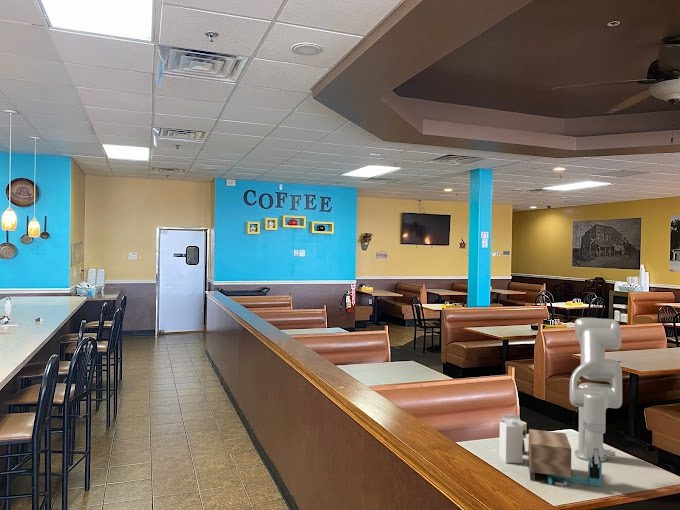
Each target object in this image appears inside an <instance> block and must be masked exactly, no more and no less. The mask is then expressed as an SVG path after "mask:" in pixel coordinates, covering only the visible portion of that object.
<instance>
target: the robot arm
mask: <svg viewBox="0 0 680 510" xmlns="http://www.w3.org/2000/svg"><path fill="white" fill-rule="evenodd" d="M574 331H575V335H576V337H577V341H578V343H579V346H580V365H579V366H577V367H576V368H575V369H574V370H573V371H572V373H571V376H570V379H569V402H570V404H571V405H572V406H574V407H576V408H577V407H578V448H577V449H575V450H574V456H575V457H577V458H579V459H582V460H584V461H588V465H587V466H588V467H587V469H588V470H587V471H588V472H587V473H589V459H591V466H590V478H595V479H599V460H602V462H605V461H607V460H608V456H610V457H616V451H614V450H613V451H612V450H611V449H605V448H604V434H605V433H606V425H607V424H606V419H607V418H606V412H607V409H608V408H609V409H610V408H611V409H619V408H621V406H622V404H623V370H622V365H621V363H620V362H619V361H618V360H615V359H611V358H610V359H609V358H606V354H605V352H606V351H605V350H613V351H614V350H615V351H616V350H619V349H620V348H621V346H622V331H621V327H620V323H619V322H618V320H616V319H612V318H597V317H581V318H577V319H575V321H574ZM581 377H583V379H586V380H590V381H598V382H599V381H600V382H607V383H609V384H603V383H595V382H582V383H579V385H578V381H579V379H580V378H581ZM592 457H594V458H592Z"/></svg>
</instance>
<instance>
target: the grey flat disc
mask: <svg viewBox="0 0 680 510" xmlns="http://www.w3.org/2000/svg"><path fill="white" fill-rule="evenodd" d="M569 483H570V482H569V481H567V480H566V479H563V478H552V485H555V486H557V487H561V486H563V488H564V487H565V486H566V487H569Z"/></svg>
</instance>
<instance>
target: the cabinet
mask: <svg viewBox="0 0 680 510" xmlns="http://www.w3.org/2000/svg"><path fill="white" fill-rule="evenodd" d="M528 473H529V479H530V481H533V482H535V480H536V479H535V478H536V476H535V475H536V474H535V473H537V474H544V475H547V474H549V475H557V476H564V477H571V476H572V445H571V444H570V441H569V438H568V436H567V434H566V433H565V432H559V431H558V432H557V431H548V430H541V429H540V430H539V429H532V428H529V429H528Z"/></svg>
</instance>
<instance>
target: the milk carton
mask: <svg viewBox="0 0 680 510" xmlns="http://www.w3.org/2000/svg"><path fill="white" fill-rule="evenodd" d="M520 416H521V415H520V414H511V413H510V414H507V413H506V414H502V418H500V419H501V420H500V421H499V439H498V443H499V445H498V446H499V447H498V453H499V454H498V455H499V456H498V457H499V458H500V459H501V460H502V461H503V462H504V463H505V464H523V453H522V450H523V440H524V438H523V425H522V423H521V421H522V420H521V418H520Z"/></svg>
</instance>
